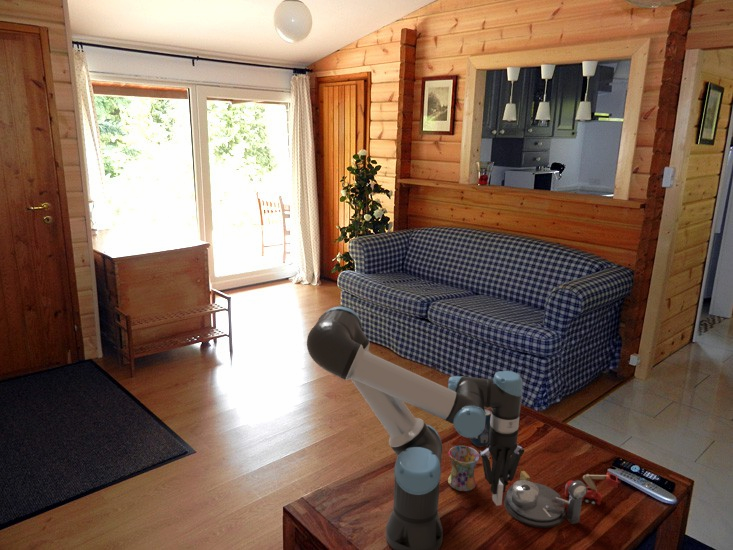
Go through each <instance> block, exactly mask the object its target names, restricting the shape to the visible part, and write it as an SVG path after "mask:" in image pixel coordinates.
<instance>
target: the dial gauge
mask: <svg viewBox="0 0 733 550" xmlns="http://www.w3.org/2000/svg"><path fill="white" fill-rule="evenodd" d="M572 481H573V482H572V483H571V484H570V485H569V487H568V492H569V494H570V495H569V497H568V500H566V499H564V498H562V499H561V498H558V497H556V499H555V500H557V501H560V502H563V503H564V504H565V505H566V504H567V510H566V516H565V519H566V520H567V521H568V522H569V524H570V525H574V524H578V523H580V516H581V511H582V503H583V501H582V498H583V497H584V496H585V495H586V493H587V487H586V486H587V484H585V483H584V482H583V481H581V480H579V479H577V480H572Z"/></svg>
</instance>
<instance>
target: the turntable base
mask: <svg viewBox="0 0 733 550" xmlns="http://www.w3.org/2000/svg"><path fill="white" fill-rule="evenodd" d="M506 497H507V492H505V494H504V500H503V504H504V505H503V506H504V508H505V510H506V512H507V513H508V514H509V515H510V516H511V517H512V518H514V520H516V521H518V522H520V523H522V524H524V525H526V526H529V527H534V528H538V529H550V528H554V527H556V526H559V525H560V524H562V523H563V521H565V519H566V515H567V510H566V506H565V507H564V513H563V515H562V517H561V518H559V519H558V520H556V521H553V522H548V523H540V522H534V521H530V520H527V519H525V518H523V517H521V516H519V515H517V514H516V513H515V512H513V511H512V510H511V509H510V507H509V506H508V504H507V501H506Z"/></svg>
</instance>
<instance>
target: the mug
mask: <svg viewBox="0 0 733 550" xmlns="http://www.w3.org/2000/svg"><path fill="white" fill-rule="evenodd" d="M448 457H449V459H450V462H451V463H450V464H451V472H450V475H449V477H448V479H447V482H448V485H449V486H450V487H451V488H452V489H454V490H456V491H459V492H469V491H472V490H474V489H475V487H476V485H477V481H476V479H475V469H476V465H477V464H478V462H479V460H480V458H481V456H480V454H479V451H477V450H476V449H475V448H473V447H470V446H468V445H457V446H456V445H455V446H453V447H451V448H450V449H449V450H448Z"/></svg>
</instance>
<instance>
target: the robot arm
mask: <svg viewBox="0 0 733 550" xmlns="http://www.w3.org/2000/svg"><path fill="white" fill-rule="evenodd" d="M362 325H363V324H362V322H361V319H360V317H359V315H358V314H357V313H356V312H355V311H354V310H353V309H351V308H349V307H346V306H334V307H331V308H328V309H327V310H326V311H325V312H324V313H323V314H321V315H320V317H319V318H318V320H317V322H316V323H315V325H313V327H312V328H311V329H310V331H309V333H308V335H307V338H306V348H307V352H308V354H309V357H310V358H311V359H312V360H313V362H314V363H316V364H317V365H318V366H319V367H321V368H322V369H323V370H325V371H326V372H328V373H330V374H332V375H334V376H336V377H337V378H340V379H342V380H344V381H348V380H350V381H351V382H352V383H353V385H354V386H355V388H356V389H357V391H358V392H359V393H360V395H361V396H362V398H363V399H364V400H365V402H366V403H367V405H368V406H369V408H370V409H371V410H372V412H373V413H374V415H375V417H376V418H377V419H378V420H379V422H380V423H381V425H382V426H383V429H384V430H385V431H386V432H387V434H388V435H389V439H388V444H389V446H390V448H391V449H392V450H393V452H394V453H395V455H396V456H397V457H396V459H395V463H394V469H393V473H394V483H393V484H394V485H393V486H394V487H393V509H392V511H391V513H390V515H389V517H388V520H387V522H386V525H385V539H386V542H387V543H388V545H389V546H390V548H391V549H393V550H439V549H440V548H441V546H442V544H443V538H444V531H443V526H442V523H441V519H440V516H439V513H438V511H439V510H438V509H439V497H440V485H441V483H440V481H441V476H442V468H441V466H442V457H443V443H442V439H441V436H440V434H439V433H438V431H437V430H436V429H435V428H434V426H431V425H430V424H426V422H425V421H424V420H423V419H422V418H419V417H415V416H414V415H413V413H412V412H411V410H410V409H409V408H408V406H407V404H409V405H411V406H413V407H415V408H418V409H420V410H422V411H424V412H426V413H428V414H431V415H433V416H435V417H438V418H440V419H442V420H444V421H446V422H448V423H450V424H453V426H454V429H455V430H456V432H457V433H458V434H459V435H460V436H461V437H463V438H467V439H470V438H473V437H477V436H478V435H480V434H481V433H482V432H483V430H484V428H485V419H486V415H485V409H484V408H487V409H489V408H490V409H491V410H490V411H491V418H490V430H489V443H488V445H487V446H486V448H485V449H484V450H481V449H480V450H479V451H478V453H479V455H480V458H481V461H482V462H481V463H482V467H483V472H484V478H485V480H486V481H487V482H488V483H489V485H490V492H491V493H492V497H491V498H492V499H491V500H492V501H493V503H494V504H495V506H502V505H503V503H502V502H503V493H506V486H508V485H509V481H510V482H512V481H513V480H514V478H515V475H516V472H517V469H518V467H519V464H520V461H521V457H522V456H523V454H525V449H524V448H523V447H522V446H521V445H520V444H518V443H517V442H518V438H519V437H518V436H519V424H520V415H521V414H520V413H521V409H522V407H521V406H522V397H523V381H524V380H523V378H522V377H521V375H519V373H518V372H517V373H516V372H514V371H511V370H503V371H501V370H498V371H497V372H496V373H495V374H494V376H493V378H490V379H489V378H482V377H481V378H480V377H471V376H463V375H462V376H459V375H458V376H453V375H452V376H450V377H449V378H448V384H447V387H446V386H444V385H442V384H440V383H437V382H435V381H433V380H431V379H429V378H426V377H424V376H422V375H419V374H417V373H415V372H413V371H411V370H409V369H407V368H404V367H402V366H400V365H398V364H396V363H393V362H391V361H389V360H386V359H384V358H382V357H380V356H378V355H375V354H373V353H372V352H371V351H370V350H369V348H370V345H371V344H370V343H371V342H370V341H369V339H368V338H367V336H366V334H365V333H364V332H363V330H362V329H363V326H362ZM490 454H491V457H490ZM490 458H491V459H492V462H490ZM491 463H492V464H491Z"/></svg>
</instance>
